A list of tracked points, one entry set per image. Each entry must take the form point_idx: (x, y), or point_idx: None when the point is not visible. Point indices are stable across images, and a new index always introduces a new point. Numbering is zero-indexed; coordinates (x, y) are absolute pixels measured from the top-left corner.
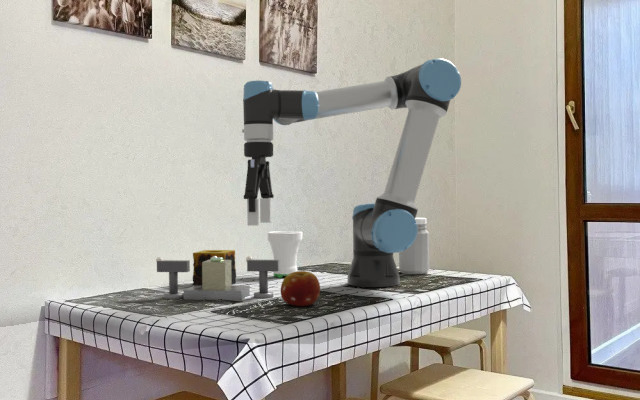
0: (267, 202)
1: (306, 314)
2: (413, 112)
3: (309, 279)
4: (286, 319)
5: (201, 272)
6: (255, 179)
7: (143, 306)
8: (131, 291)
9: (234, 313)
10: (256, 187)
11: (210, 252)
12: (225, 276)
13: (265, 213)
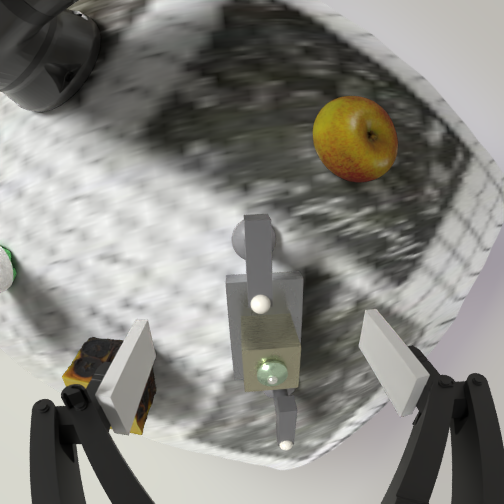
0: (122, 391)
1: (419, 125)
2: None
3: (387, 114)
4: (451, 155)
5: (146, 397)
6: (500, 440)
7: (352, 385)
8: (222, 441)
9: (417, 244)
10: (447, 428)
11: None
12: (293, 327)
13: (140, 362)
